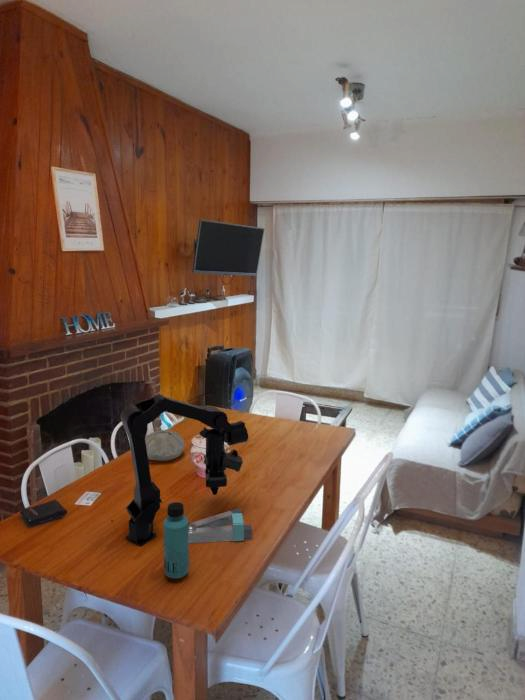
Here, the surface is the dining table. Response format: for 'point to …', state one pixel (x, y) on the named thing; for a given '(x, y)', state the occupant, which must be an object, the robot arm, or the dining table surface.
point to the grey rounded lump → (164, 445)
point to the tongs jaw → (217, 519)
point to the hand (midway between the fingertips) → (214, 494)
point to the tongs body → (214, 533)
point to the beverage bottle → (176, 542)
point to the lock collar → (238, 527)
